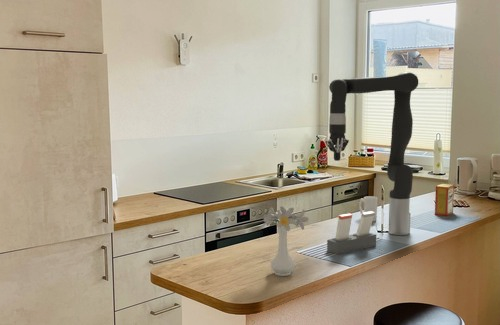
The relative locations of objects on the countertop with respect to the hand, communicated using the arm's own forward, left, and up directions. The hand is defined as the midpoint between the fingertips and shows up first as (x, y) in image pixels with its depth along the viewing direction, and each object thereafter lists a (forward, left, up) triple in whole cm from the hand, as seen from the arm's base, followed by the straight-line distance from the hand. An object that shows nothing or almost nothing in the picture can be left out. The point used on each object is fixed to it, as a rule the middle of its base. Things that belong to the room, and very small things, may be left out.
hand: (337, 160), depth 264 cm
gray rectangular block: (+11, +22, -35) cm, 43 cm away
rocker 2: (+5, +22, -30) cm, 38 cm away
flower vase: (+55, +31, -35) cm, 72 cm away
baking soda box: (-77, +2, -35) cm, 85 cm away
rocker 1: (+17, +22, -30) cm, 41 cm away
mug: (-33, -12, -35) cm, 50 cm away
